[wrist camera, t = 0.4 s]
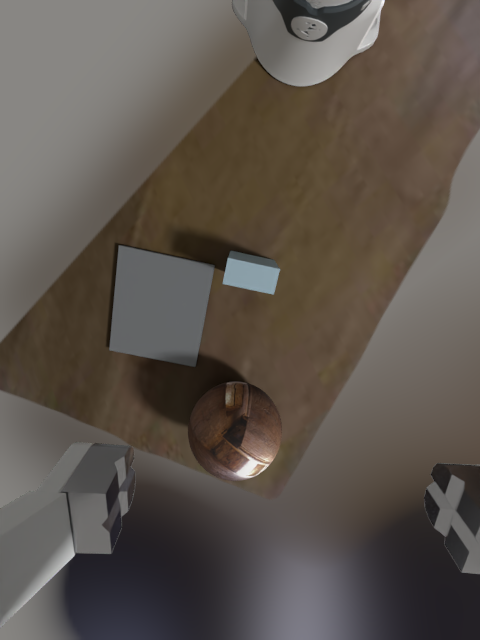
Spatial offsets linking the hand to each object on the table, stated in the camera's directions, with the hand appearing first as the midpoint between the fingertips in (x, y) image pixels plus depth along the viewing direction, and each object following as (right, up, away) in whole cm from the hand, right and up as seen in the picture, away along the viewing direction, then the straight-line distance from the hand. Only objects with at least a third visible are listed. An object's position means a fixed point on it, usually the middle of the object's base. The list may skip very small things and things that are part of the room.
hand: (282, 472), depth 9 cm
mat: (-14, +6, +44) cm, 47 cm away
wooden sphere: (-2, -11, +50) cm, 51 cm away
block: (0, +13, +42) cm, 44 cm away
